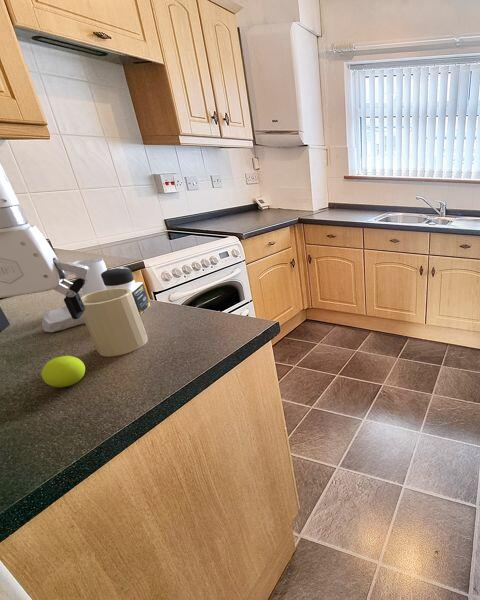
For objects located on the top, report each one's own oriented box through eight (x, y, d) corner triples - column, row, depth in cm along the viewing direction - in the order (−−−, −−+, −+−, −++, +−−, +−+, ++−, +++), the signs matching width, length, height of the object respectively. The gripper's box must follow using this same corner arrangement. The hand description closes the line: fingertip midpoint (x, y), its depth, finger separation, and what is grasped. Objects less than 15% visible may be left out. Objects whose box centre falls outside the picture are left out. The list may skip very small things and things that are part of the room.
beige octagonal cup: (93, 360, 69) (69, 307, 64) (104, 341, 76) (83, 292, 71) (144, 349, 73) (125, 299, 68) (150, 332, 80) (134, 285, 75)
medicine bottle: (141, 316, 88) (125, 272, 83) (108, 320, 86) (90, 275, 81) (151, 305, 94) (137, 264, 89) (121, 308, 92) (105, 266, 87)
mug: (117, 295, 101) (102, 256, 96) (119, 301, 96) (103, 261, 91) (72, 304, 95) (54, 263, 90) (72, 312, 90) (52, 269, 85)
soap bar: (58, 344, 81) (41, 330, 77) (47, 332, 84) (29, 317, 79) (103, 318, 87) (89, 304, 83) (91, 307, 89) (76, 292, 85)
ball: (44, 397, 59) (29, 371, 56) (56, 379, 63) (43, 354, 61) (85, 388, 61) (72, 362, 59) (93, 371, 65) (82, 347, 63)
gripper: (-120, 232, 43) (-45, 346, 50) (56, 218, 50) (100, 319, 57) (-78, 222, 49) (-17, 325, 56) (73, 211, 56) (111, 304, 63)
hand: (42, 322), depth 57 cm, fingers open, 9 cm apart
